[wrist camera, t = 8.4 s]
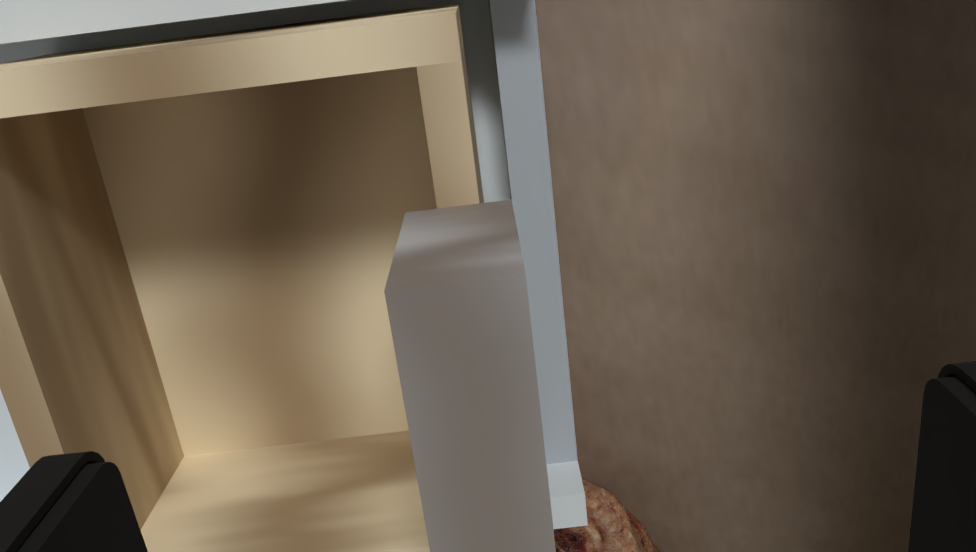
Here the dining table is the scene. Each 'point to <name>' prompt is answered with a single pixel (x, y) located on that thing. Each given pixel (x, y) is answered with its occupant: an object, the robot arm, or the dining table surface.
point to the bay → (499, 134)
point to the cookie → (604, 527)
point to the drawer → (273, 289)
